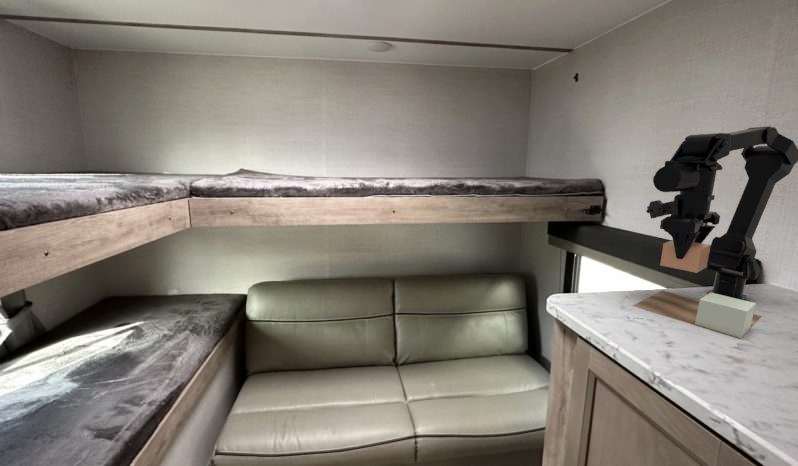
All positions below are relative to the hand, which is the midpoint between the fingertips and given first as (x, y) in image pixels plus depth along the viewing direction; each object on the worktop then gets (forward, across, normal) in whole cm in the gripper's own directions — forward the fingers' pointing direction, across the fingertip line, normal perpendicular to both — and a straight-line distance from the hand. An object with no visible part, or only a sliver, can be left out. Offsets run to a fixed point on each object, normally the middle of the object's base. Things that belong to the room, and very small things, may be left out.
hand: (685, 256), depth 82 cm
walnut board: (+12, +4, +5) cm, 14 cm away
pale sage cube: (+11, +9, +10) cm, 18 cm away
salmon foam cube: (+2, 0, 0) cm, 2 cm away
